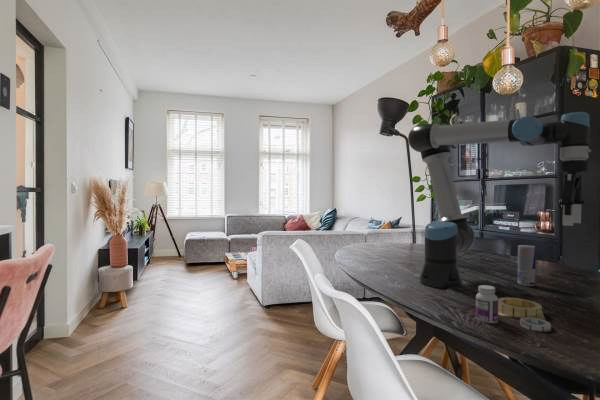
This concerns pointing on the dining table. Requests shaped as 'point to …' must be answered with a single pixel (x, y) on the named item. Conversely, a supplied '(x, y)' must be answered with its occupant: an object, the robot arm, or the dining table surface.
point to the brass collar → (519, 308)
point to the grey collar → (535, 324)
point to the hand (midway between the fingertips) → (571, 224)
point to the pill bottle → (487, 304)
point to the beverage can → (526, 265)
